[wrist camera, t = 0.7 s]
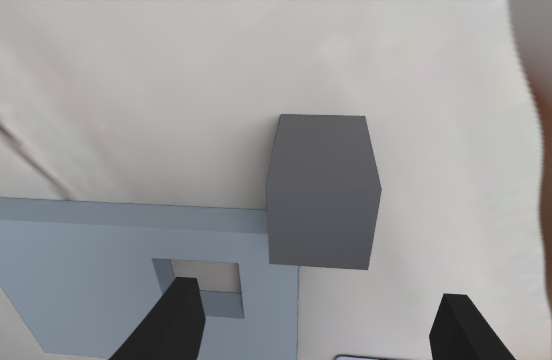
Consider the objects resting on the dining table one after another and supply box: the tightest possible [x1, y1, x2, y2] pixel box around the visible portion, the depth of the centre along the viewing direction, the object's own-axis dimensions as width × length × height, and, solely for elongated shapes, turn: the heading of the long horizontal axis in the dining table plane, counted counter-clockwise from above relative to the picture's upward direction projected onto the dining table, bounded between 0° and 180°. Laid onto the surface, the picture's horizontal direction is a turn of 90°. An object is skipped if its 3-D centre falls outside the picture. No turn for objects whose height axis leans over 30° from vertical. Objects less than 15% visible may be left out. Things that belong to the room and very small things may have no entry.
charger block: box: [266, 114, 382, 270], centre depth 16 cm, size 4×4×6 cm
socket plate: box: [0, 198, 299, 360], centre depth 25 cm, size 14×20×2 cm
